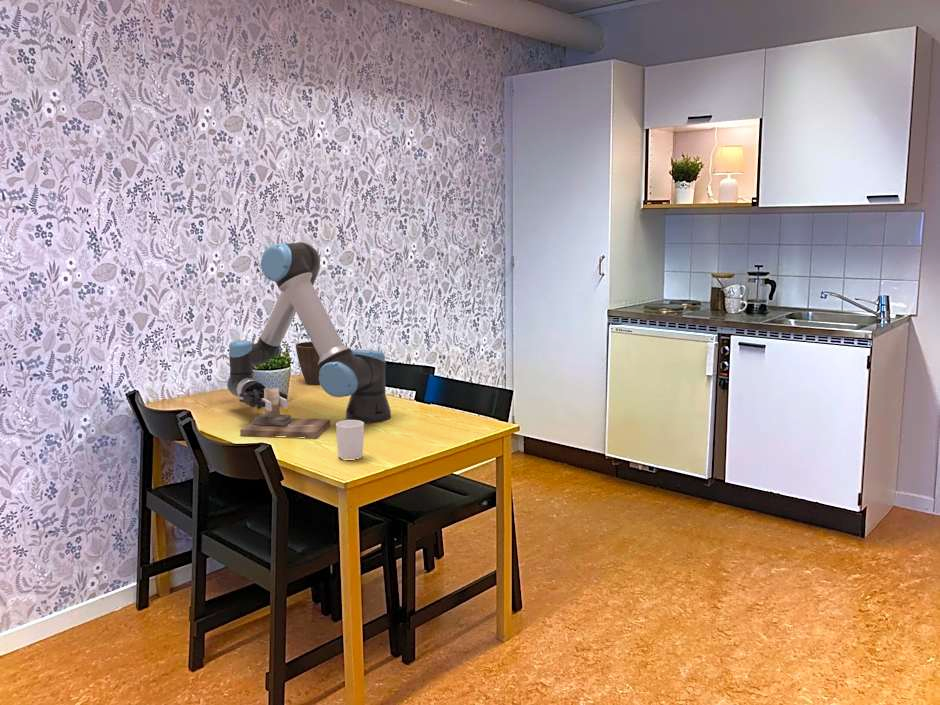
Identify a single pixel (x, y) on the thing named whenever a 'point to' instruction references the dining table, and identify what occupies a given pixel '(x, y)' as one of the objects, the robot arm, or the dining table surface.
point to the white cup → (350, 438)
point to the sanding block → (274, 415)
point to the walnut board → (288, 428)
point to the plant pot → (308, 362)
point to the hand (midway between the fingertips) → (278, 405)
